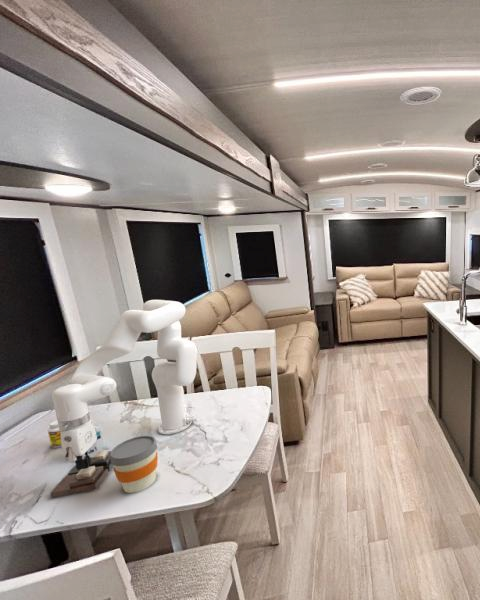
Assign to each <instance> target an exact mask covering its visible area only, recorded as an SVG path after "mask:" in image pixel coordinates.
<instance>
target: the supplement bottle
mask: <svg viewBox="0 0 480 600" xmlns="http://www.w3.org/2000/svg"><path fill="white" fill-rule="evenodd" d="M47 433H48V439H49V442H50V447H51V448H62V446H61V430H59V426H58V421H57V419H56V420H53V421H51V422H50V423H49V427H48V428H47Z"/></svg>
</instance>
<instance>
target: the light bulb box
mask: <svg viewBox="0 0 480 600" xmlns="http://www.w3.org/2000/svg"><path fill="white" fill-rule="evenodd" d="M94 427H95V431H96V435H97V440H96V442H95V443H94V444H93V445H92V446H91V447H90V448H89V449H90V454H89V456H90V457H92V456H93V455H94V454H95V453H96V452H97V451H103V450H106V445H105V441H104V435H103V432H102V426H100V425H96V424H94Z"/></svg>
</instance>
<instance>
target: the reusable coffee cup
mask: <svg viewBox="0 0 480 600" xmlns="http://www.w3.org/2000/svg"><path fill="white" fill-rule="evenodd" d="M157 448H158V444H157V441H156V438H155V437H154V436H152V435H139V436H135V437H132V438H129V439H126V440H125V441H122V442H120V443H119V444H117V445H116V446H115V447H114V448H112V450H110V451H111V463H112V465H114V466H113V468H112V469H113V473H114V474H115V478H116V479H117V481H118V482H120V484H121V487H122V489H123V491H124V492H125V493H127V494H133V493H138V492H141V491H143V490H145V489H146V488H148V487H150V486H151V485H153V483H154V482H155V481H156V477H157V467H158V451H157Z"/></svg>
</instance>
